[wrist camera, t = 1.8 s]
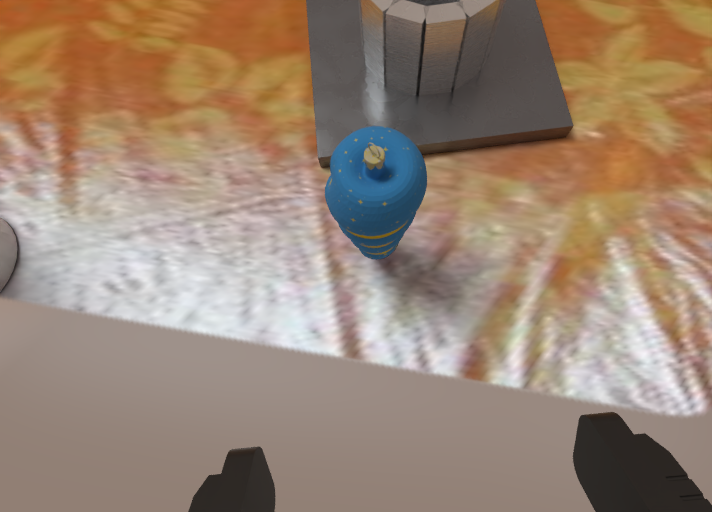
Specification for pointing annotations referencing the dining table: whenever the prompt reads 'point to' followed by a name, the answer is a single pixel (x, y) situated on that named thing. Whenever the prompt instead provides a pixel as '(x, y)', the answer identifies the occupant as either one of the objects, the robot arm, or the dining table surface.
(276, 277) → the dining table surface
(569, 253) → the dining table surface
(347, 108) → the tube on square plate
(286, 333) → the dining table surface
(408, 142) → the ornament
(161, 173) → the dining table surface
